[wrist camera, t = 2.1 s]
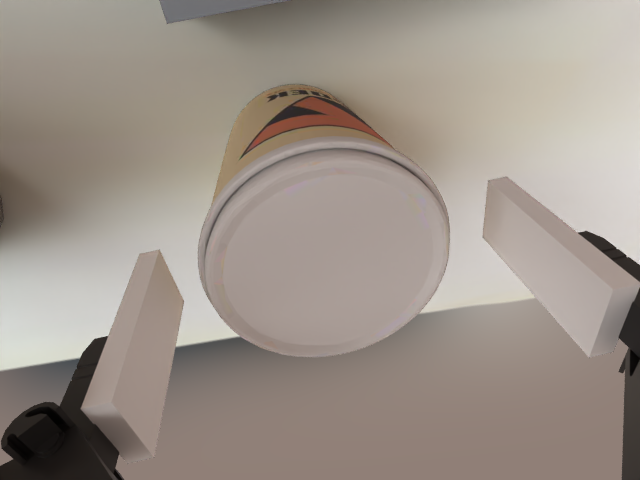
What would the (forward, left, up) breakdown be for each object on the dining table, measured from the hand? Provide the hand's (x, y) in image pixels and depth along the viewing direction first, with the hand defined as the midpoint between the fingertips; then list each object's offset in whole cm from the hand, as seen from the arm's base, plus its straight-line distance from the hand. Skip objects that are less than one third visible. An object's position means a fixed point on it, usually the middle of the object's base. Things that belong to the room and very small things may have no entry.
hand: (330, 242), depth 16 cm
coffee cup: (0, 0, -10) cm, 10 cm away
